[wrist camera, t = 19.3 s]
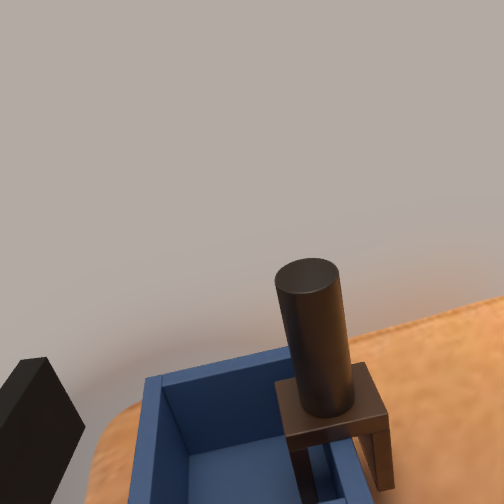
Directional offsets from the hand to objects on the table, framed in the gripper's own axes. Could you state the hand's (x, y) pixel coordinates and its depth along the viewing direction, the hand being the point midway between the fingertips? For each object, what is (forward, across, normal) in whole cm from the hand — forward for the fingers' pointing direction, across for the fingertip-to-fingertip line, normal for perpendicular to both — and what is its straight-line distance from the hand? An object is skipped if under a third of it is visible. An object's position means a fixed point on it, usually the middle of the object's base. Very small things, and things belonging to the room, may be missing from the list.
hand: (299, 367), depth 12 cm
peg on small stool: (+10, 0, -18) cm, 20 cm away
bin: (+9, -5, -20) cm, 23 cm away
